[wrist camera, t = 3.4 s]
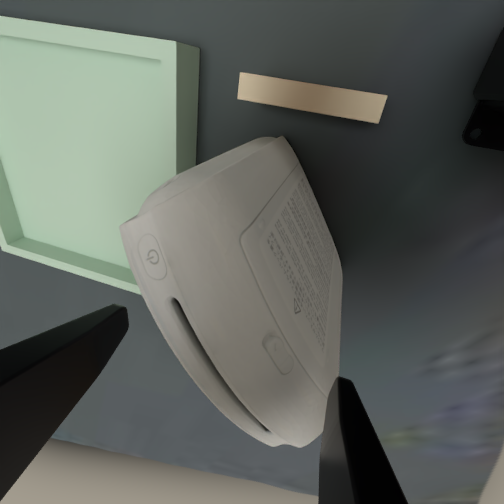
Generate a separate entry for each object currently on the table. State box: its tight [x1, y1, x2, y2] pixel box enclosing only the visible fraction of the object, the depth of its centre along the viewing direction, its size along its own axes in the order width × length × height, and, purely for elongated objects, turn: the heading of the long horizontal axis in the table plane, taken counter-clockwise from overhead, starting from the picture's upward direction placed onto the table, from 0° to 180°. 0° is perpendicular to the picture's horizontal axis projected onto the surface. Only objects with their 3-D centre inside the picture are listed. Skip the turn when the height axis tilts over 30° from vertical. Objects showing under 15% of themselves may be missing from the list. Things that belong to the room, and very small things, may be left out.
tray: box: [0, 16, 200, 295], centre depth 20 cm, size 16×16×2 cm
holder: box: [237, 72, 387, 123], centre depth 17 cm, size 6×14×4 cm, turn 172°
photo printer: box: [119, 136, 343, 448], centre depth 13 cm, size 10×4×12 cm, turn 28°
